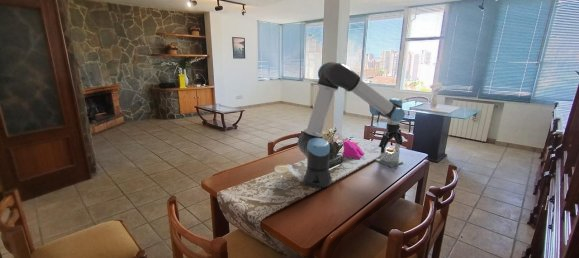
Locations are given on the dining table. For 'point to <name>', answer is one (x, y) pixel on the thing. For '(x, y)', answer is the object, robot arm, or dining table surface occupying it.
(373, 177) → the dining table surface
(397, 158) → the white hollow square block
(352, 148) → the magenta faceted rock
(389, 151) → the keeper
